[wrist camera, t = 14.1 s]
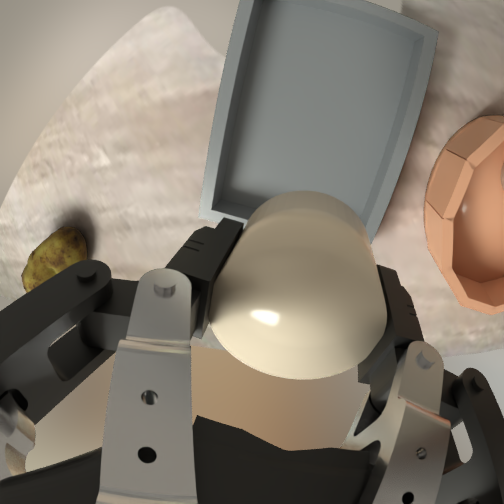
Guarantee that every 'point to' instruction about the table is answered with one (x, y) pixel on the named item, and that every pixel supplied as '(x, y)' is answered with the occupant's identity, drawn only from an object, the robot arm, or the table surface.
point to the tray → (315, 106)
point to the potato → (54, 256)
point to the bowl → (469, 214)
